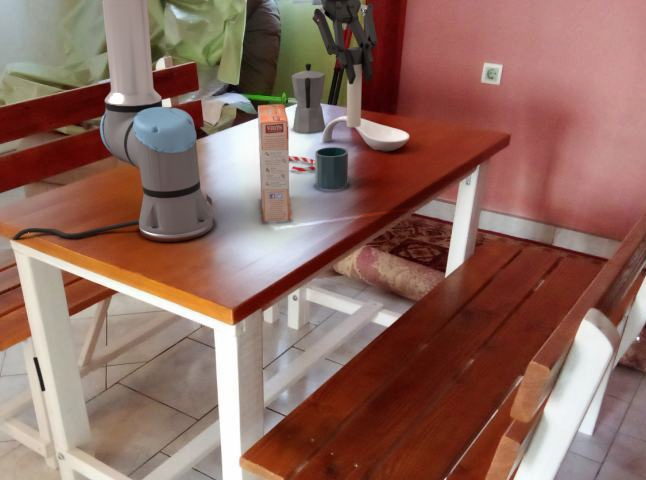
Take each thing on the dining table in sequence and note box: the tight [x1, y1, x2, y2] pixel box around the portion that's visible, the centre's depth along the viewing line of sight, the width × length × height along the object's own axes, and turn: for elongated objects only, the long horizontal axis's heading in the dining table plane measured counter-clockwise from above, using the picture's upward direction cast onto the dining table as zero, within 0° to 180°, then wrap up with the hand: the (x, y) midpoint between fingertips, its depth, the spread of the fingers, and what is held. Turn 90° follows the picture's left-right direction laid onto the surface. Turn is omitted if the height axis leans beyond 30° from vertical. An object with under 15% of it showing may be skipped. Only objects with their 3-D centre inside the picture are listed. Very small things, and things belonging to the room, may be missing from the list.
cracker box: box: [257, 103, 291, 223], centre depth 149 cm, size 14×6×21 cm, turn 1°
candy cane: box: [289, 155, 315, 172], centre depth 179 cm, size 8×1×15 cm
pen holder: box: [314, 146, 349, 190], centre depth 163 cm, size 7×7×8 cm
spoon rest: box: [321, 115, 410, 153], centre depth 188 cm, size 24×12×7 cm, turn 59°
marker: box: [346, 46, 363, 128], centre depth 153 cm, size 3×3×16 cm
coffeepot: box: [291, 63, 326, 134], centre depth 201 cm, size 15×9×18 cm, turn 175°
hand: (361, 79), depth 149 cm, fingers closed on marker, 3 cm apart
